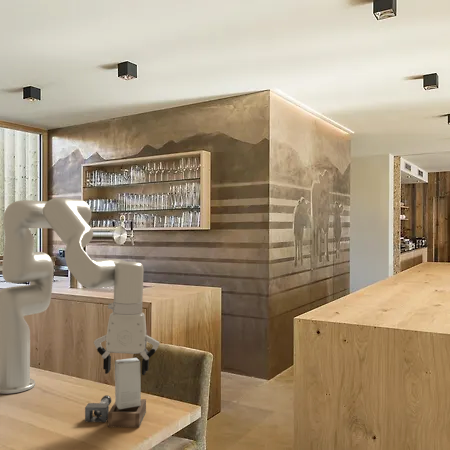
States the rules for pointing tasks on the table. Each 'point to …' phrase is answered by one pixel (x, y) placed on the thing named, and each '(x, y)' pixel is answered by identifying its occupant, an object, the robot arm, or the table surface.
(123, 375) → the skincare box
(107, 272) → the robot arm
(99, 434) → the table surface
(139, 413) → the brown wooden open box
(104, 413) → the pin mount
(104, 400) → the lock pin
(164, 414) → the table surface
